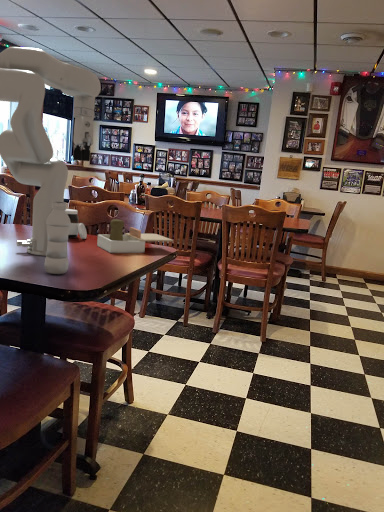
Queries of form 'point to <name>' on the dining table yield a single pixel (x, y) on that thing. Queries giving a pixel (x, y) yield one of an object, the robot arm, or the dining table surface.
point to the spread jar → (75, 225)
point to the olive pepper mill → (116, 230)
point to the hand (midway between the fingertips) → (81, 160)
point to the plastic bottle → (57, 239)
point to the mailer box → (121, 244)
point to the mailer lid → (145, 236)
